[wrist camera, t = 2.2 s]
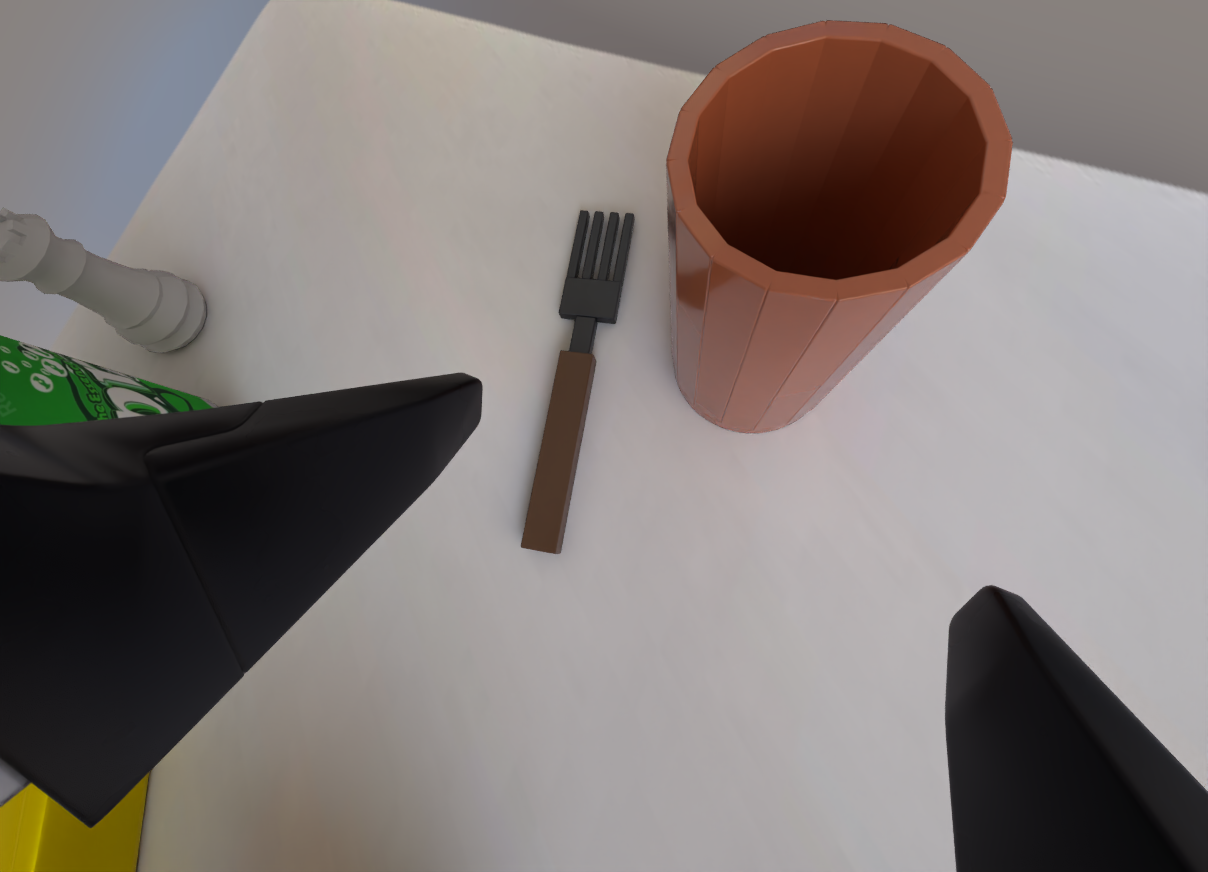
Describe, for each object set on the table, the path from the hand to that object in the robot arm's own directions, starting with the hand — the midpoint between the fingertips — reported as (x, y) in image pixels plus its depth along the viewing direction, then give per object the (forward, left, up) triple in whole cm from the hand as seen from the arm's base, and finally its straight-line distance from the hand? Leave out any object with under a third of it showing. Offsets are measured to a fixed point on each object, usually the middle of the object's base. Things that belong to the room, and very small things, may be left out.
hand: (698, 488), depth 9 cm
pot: (+6, +5, -13) cm, 16 cm away
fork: (0, +9, -13) cm, 16 cm away
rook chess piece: (-19, +24, -14) cm, 33 cm away
